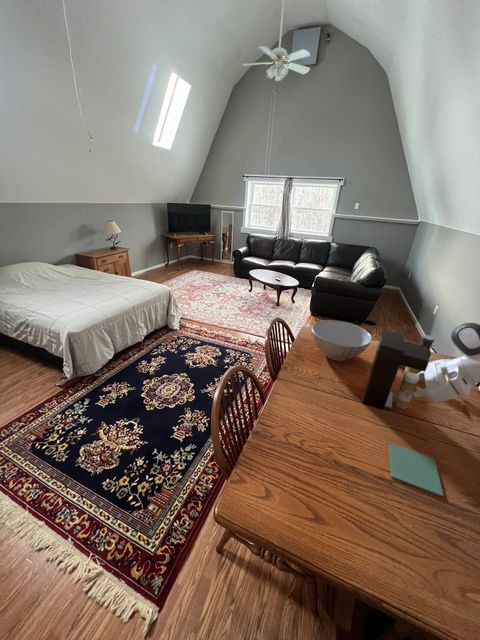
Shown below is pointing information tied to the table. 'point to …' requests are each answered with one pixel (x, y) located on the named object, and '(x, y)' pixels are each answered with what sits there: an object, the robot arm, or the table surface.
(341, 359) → the decorative bowl
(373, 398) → the black l-shaped post
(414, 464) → the rubber mat
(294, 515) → the table surface
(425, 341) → the sauce bottle
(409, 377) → the sprinkles bottle
